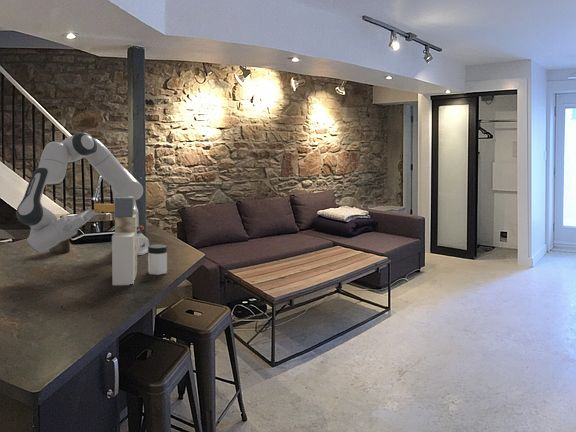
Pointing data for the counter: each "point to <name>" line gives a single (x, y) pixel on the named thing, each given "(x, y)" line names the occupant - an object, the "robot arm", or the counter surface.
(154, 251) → the jar
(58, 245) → the pillar candle
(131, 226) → the tall pedestal
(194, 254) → the counter surface
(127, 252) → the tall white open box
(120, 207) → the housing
